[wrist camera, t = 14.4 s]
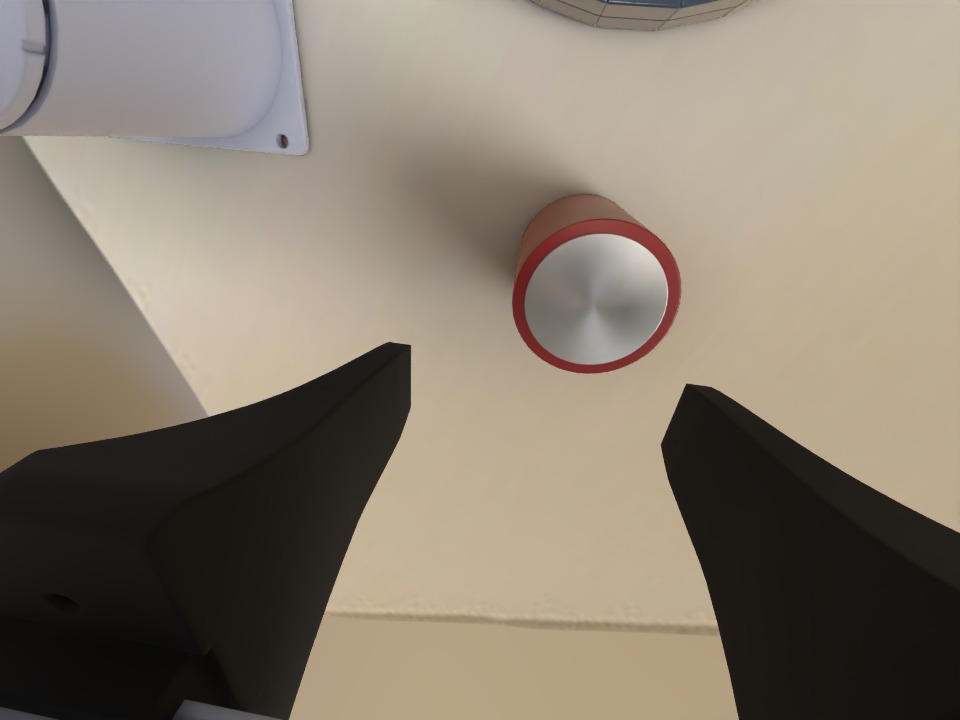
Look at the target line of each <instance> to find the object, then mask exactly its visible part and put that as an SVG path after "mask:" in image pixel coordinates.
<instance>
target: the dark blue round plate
mask: <svg viewBox="0 0 960 720" xmlns="http://www.w3.org/2000/svg"><path fill="white" fill-rule="evenodd" d="M532 1H534V2H535V3H536V4H538V5H539V4H540V6H542V7H544V8H547V9H549V10H552V11H555V12H557V13H560V14H563V15H565V16H568V17H571V18H573V19H576V20H578V21H581V22H584V23H586V24H589V25H592V26H595V25H596V26H597V27H606V28H620V29H635V30H649V31H654V30H656V29H657V30H663V29H667V28H672V27H677V26H682V25H687V24H692V23H697V22H702V21H707V20H712V19H717V18H720V17H721V16H722V17H724V16H726V15H728V14H730V13H733V12H735V11H737V10H739V9H741V8H743V7H746V6H748V5H750V4H752V3H754V2H757V1H759V0H532Z"/></svg>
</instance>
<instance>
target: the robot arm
mask: <svg viewBox="0 0 960 720" xmlns="http://www.w3.org/2000/svg"><path fill="white" fill-rule="evenodd" d="M0 135H7V136H10V135H11V136H12V135H13V136H14V135H15V136H17V135H18V136H107V137H110V138H119V139H130V140H140V141H150V142H160V143H171V144H181V145H191V146H202V147H212V148H222V149H232V150H243V151H253V152H263V153H274V154H284V155H294V156H299V155H304V154H306V153H307V151H308V149H309V137H308V129H307V121H306V112H305V104H304V96H303V88H302V79H301V71H300V63H299V54H298V46H297V38H296V29H295V21H294V13H293V4H292V0H0ZM283 135H285V136H286V138H287V140H288V146H287V147H285V146H284V145H283V144H282V141H281V137H282V136H283ZM410 408H411V345H407V344H399V343H392V342H388V343H385V344H383V345H381V346H379V347H377V348H375V349H373V350H371V351H369V352H367V353H365V354H364V355H362V356H360V357H358V358H356V359H354V360H352V361H350V362H348V363H347V364H345V365H343V366H341V367H339V368H337V369H335V370H333V371H331V372H329V373H327V374H325V375H322V376H320V377H318V378H316V379H314V380H312V381H310V382H307V383H305V384H303V385H301V386H299V387H296V388H294V389H292V390H289V391H287V392H284V393H282V394H279V395H276V396H274V397H271V398H268V399H265V400H263V401H260V402H257V403H254V404H251V405H248V406H245V407H241V408H238V409H235V410H231V411H228V412H224V413H221V414H218V415H214V416H211V417H208V418H204V419H200V420H196V421H192V422H188V423H184V424H180V425H176V426H172V427H167V428H163V429H158V430H153V431H149V432H144V433H140V434H134V435H129V436H124V437H118V438H112V439H106V440H100V441H94V442H88V443H82V444H76V445H70V446H64V447H57V448H50V449H43V450H38V451H35V452H34V453H31V454H30V455H28V456H27V457H25V458H23V459H22V460H20V461H19V462H17V463H16V464H14V465H12V466H11V467H9V468H7V469H6V470H4V471H3V472H1V473H0V720H289V717H290V714H291V711H292V707H293V704H294V701H295V698H296V695H297V692H298V689H299V686H300V683H301V680H302V676H303V674H304V671H305V667H306V664H307V661H308V658H309V655H310V652H311V649H312V646H313V643H314V640H315V638H316V635H317V632H318V629H319V626H320V623H321V620H322V617H323V614H324V612H325V609H326V606H327V603H328V600H329V597H330V595H331V592H332V589H333V586H334V584H335V581H336V578H337V576H338V573H339V570H340V567H341V565H342V562H343V559H344V557H345V554H346V552H347V549H348V546H349V544H350V541H351V539H352V536H353V533H354V531H355V528H356V526H357V523H358V521H359V519H360V517H361V514H362V512H363V510H364V508H365V506H366V504H367V502H368V500H369V498H370V496H371V494H372V492H373V490H374V488H375V486H376V484H377V482H378V480H379V478H380V476H381V474H382V473H383V471H384V469H385V467H386V465H387V463H388V461H389V459H390V457H391V455H392V453H393V451H394V449H395V447H396V445H397V443H398V441H399V439H400V437H401V434H402V431H403V428H404V426H405V423H406V420H407V417H408V414H409V411H410ZM661 448H662V453H663V458H664V463H665V468H666V472H667V476H668V480H669V483H670V486H671V488H672V491H673V494H674V496H675V499H676V502H677V504H678V507H679V510H680V512H681V515H682V517H683V520H684V523H685V525H686V528H687V530H688V533H689V536H690V538H691V541H692V543H693V546H694V549H695V551H696V554H697V556H698V559H699V562H700V564H701V567H702V570H703V573H704V576H705V579H706V582H707V586H708V590H709V593H710V597H711V601H712V605H713V608H714V612H715V616H716V620H717V623H718V627H719V631H720V636H721V640H722V644H723V648H724V652H725V657H726V661H727V665H728V669H729V673H730V678H731V683H732V687H733V693H734V697H735V702H736V707H737V712H738V716H739V720H960V533H958V532H956V531H954V530H952V529H950V528H948V527H946V526H944V525H942V524H940V523H938V522H936V521H934V520H932V519H930V518H928V517H926V516H924V515H922V514H920V513H918V512H916V511H914V510H912V509H910V508H908V507H906V506H904V505H902V504H900V503H899V502H897V501H895V500H893V499H891V498H889V497H888V496H886V495H884V494H882V493H880V492H879V491H877V490H875V489H873V488H871V487H869V486H868V485H866V484H864V483H862V482H860V481H859V480H857V479H855V478H853V477H852V476H850V475H848V474H847V473H845V472H843V471H842V470H840V469H838V468H837V467H835V466H833V465H832V464H830V463H829V462H827V461H825V460H824V459H822V458H821V457H819V456H817V455H816V454H814V453H812V452H811V451H809V450H808V449H806V448H805V447H803V446H802V445H800V444H798V443H797V442H795V441H794V440H792V439H791V438H789V437H788V436H786V435H785V434H783V433H782V432H780V431H779V430H777V429H776V428H774V427H773V426H771V425H770V424H768V423H767V422H766V421H764V420H763V419H761V418H760V417H758V416H757V415H755V414H754V413H752V412H751V411H749V410H748V409H746V408H745V407H743V406H742V405H740V404H739V403H737V402H736V401H734V400H733V399H731V398H730V397H728V396H726V395H725V394H723V393H721V392H720V391H718V390H716V389H714V388H712V387H707V386H700V385H693V384H686V386H685V388H684V390H683V393H682V395H681V398H680V400H679V402H678V405H677V407H676V410H675V412H674V414H673V417H672V419H671V422H670V424H669V426H668V429H667V431H666V433H665V436H664V438H663V441H662V443H661Z"/></svg>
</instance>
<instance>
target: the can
mask: <svg viewBox="0 0 960 720" xmlns="http://www.w3.org/2000/svg"><path fill="white" fill-rule="evenodd" d="M680 298H681V279H680V273H679V270H678V267H677V264H676V261H675V259H674V257H673V255H672V254H671V252H670V251H669V249H668V248H667V247H666V245H665V244H664V243H663V242H662V241H661V240H660V239H659V238H658V237H657V236H656V235H655V234H653V233H652V232H651V231H649V230H648V229H647V228H646V227H644V226H643V225H642V224H641V223H639V222H638V221H637V220H636V219H634V218H633V217H632V216H631V215H629V214H628V213H627V212H626V211H624V210H623V209H622V208H621V207H619V206H618V205H617V204H615V203H614V202H612V201H610V200H608V199H606V198H603V197H600V196H596V195H590V194H579V195H572V196H568V197H564V198H561V199H559V200H557V201H555V202H553V203H551V204H549V205H548V206H547V207H545V208H544V209H543V210H541V211H540V212H539V213H538V214H537V215H536V216H535V218H534V219H533V220H532V221H531V223H530V224H529V226H528V227H527V229H526V231H525V233H524V236H523V239H522V242H521V246H520V252H519V258H518V264H517V271H516V277H515V283H514V289H513V299H512V307H513V316H514V320H515V324H516V326H517V329H518V332H519V333H520V335H521V337H522V339H523V340H524V342H525V343H526V344H527V346H528V347H529V348H530V349H531V350H532V351H533V352H534V353H535V354H536V355H537V356H538V357H540V358H541V359H542V360H544V361H546V362H547V363H549V364H551V365H553V366H555V367H557V368H560V369H563V370H566V371H571V372H576V373H587V374H589V373H602V372H608V371H612V370H616V369H619V368H622V367H625V366H627V365H629V364H631V363H633V362H635V361H637V360H639V359H640V358H642V357H643V356H645V355H646V354H647V353H649V352H650V351H651V350H652V349H654V348H655V347H656V345H657V344H658V343H659V342H660V341H661V340H662V339H663V338H664V336H665V335H666V334H667V332H668V331H669V329H670V327H671V326H672V324H673V322H674V319H675V317H676V315H677V312H678V308H679V304H680Z"/></svg>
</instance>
